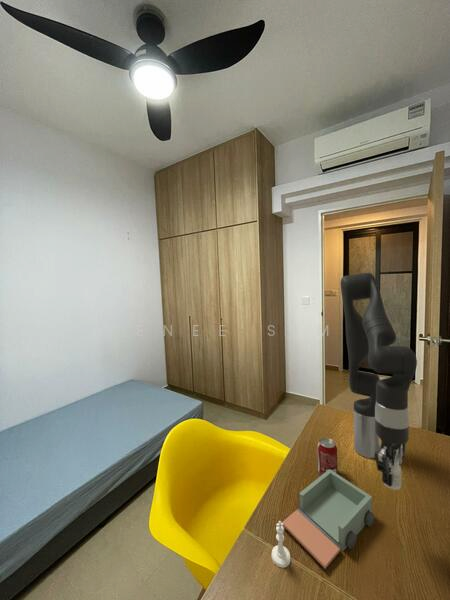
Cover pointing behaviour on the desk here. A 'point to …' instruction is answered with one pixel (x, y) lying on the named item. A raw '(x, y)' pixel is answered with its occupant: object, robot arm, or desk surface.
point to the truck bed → (337, 508)
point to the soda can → (327, 455)
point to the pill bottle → (396, 476)
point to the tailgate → (312, 537)
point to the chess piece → (280, 549)
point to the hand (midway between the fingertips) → (391, 479)
